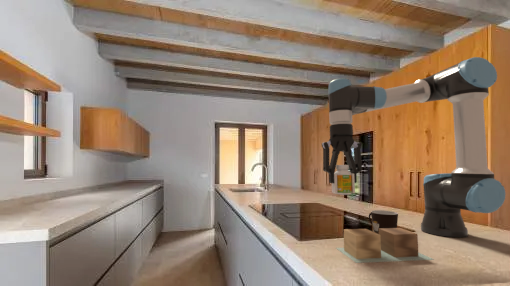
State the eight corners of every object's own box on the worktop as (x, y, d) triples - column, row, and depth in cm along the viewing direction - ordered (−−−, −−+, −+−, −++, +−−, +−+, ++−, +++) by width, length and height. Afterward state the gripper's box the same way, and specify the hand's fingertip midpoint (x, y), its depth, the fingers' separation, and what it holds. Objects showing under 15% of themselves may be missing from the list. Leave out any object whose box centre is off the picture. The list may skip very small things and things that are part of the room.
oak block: (366, 249, 76) (366, 228, 77) (381, 257, 69) (380, 234, 70) (344, 250, 75) (343, 229, 76) (356, 258, 68) (355, 235, 69)
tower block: (400, 248, 78) (400, 227, 78) (418, 256, 71) (417, 233, 71) (379, 249, 77) (378, 228, 77) (394, 257, 70) (394, 234, 70)
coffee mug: (403, 246, 85) (401, 215, 86) (375, 244, 86) (374, 213, 87) (391, 236, 96) (390, 209, 97) (367, 235, 98) (366, 208, 99)
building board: (402, 250, 80) (402, 245, 80) (434, 265, 68) (434, 259, 68) (335, 253, 77) (335, 247, 78) (356, 268, 66) (356, 262, 66)
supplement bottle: (343, 195, 83) (342, 164, 84) (331, 193, 88) (330, 165, 89) (355, 194, 85) (354, 164, 86) (343, 192, 90) (342, 164, 91)
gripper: (360, 126, 94) (362, 191, 92) (311, 125, 91) (312, 192, 89) (372, 123, 86) (375, 193, 84) (319, 122, 84) (321, 194, 82)
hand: (343, 192), depth 87 cm, fingers closed on supplement bottle, 5 cm apart
